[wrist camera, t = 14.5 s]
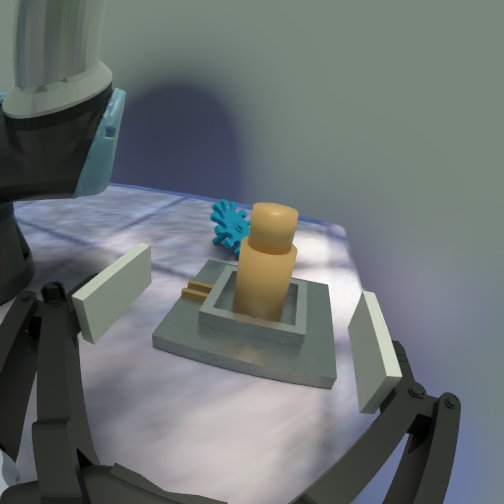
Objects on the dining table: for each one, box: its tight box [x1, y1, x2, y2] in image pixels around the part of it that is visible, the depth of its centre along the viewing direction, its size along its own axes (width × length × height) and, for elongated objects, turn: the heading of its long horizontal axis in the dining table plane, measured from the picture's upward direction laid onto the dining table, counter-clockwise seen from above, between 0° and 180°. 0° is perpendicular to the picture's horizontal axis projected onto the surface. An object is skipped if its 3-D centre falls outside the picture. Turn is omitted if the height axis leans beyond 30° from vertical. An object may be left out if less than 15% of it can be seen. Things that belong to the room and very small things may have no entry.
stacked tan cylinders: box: [233, 203, 298, 321], centre depth 26 cm, size 5×5×10 cm
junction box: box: [152, 260, 337, 389], centre depth 28 cm, size 16×16×3 cm
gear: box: [210, 199, 251, 256], centre depth 44 cm, size 11×6×10 cm
